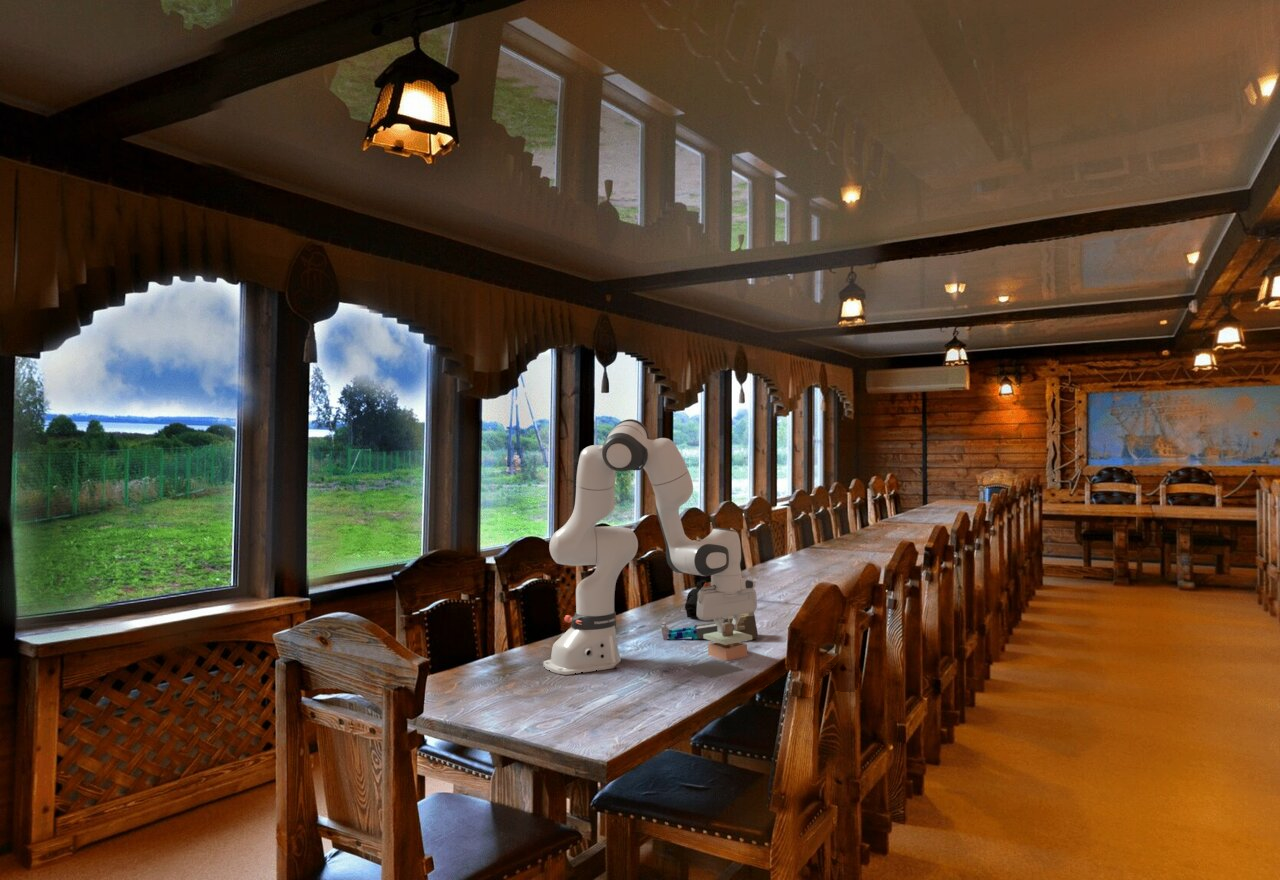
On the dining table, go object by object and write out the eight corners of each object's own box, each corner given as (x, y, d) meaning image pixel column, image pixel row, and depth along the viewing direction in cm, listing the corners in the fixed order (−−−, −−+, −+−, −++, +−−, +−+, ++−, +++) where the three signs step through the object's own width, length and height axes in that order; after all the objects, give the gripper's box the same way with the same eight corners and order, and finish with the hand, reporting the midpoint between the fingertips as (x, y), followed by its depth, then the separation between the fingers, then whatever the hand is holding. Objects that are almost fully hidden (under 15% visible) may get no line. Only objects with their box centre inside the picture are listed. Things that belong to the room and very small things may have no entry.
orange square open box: (726, 663, 218) (726, 649, 218) (708, 657, 224) (708, 643, 224) (747, 658, 222) (747, 644, 222) (729, 652, 229) (728, 639, 229)
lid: (725, 644, 215) (725, 629, 216) (703, 638, 224) (703, 623, 224) (752, 639, 221) (751, 624, 221) (729, 633, 229) (729, 618, 229)
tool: (685, 638, 277) (679, 602, 272) (699, 603, 297) (694, 569, 292) (706, 639, 274) (701, 603, 269) (720, 603, 294) (715, 569, 289)
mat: (711, 680, 201) (711, 677, 201) (683, 670, 211) (683, 667, 211) (745, 672, 208) (745, 669, 208) (716, 663, 218) (716, 660, 218)
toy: (664, 615, 262) (751, 603, 259) (668, 638, 262) (755, 625, 259) (658, 634, 236) (755, 620, 233) (663, 659, 236) (760, 645, 233)
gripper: (704, 589, 214) (706, 638, 214) (759, 581, 226) (760, 628, 225) (691, 586, 220) (692, 634, 219) (745, 578, 231) (746, 624, 231)
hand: (727, 631), depth 222 cm, fingers closed on lid, 3 cm apart
